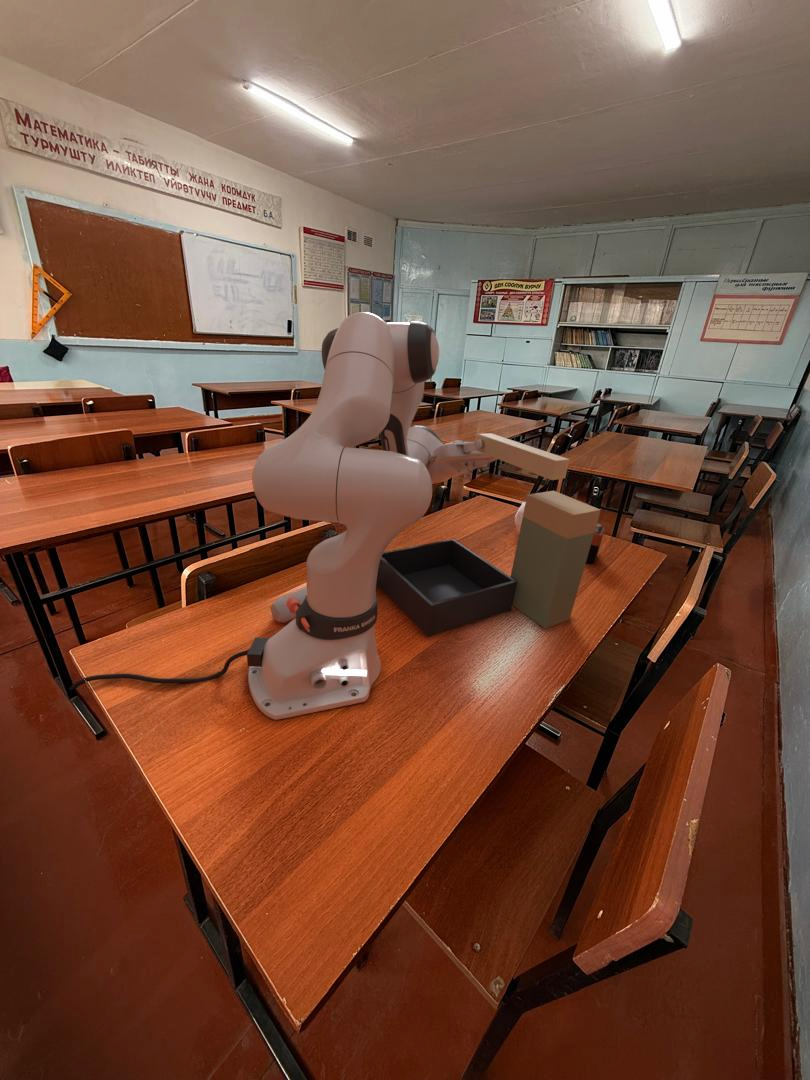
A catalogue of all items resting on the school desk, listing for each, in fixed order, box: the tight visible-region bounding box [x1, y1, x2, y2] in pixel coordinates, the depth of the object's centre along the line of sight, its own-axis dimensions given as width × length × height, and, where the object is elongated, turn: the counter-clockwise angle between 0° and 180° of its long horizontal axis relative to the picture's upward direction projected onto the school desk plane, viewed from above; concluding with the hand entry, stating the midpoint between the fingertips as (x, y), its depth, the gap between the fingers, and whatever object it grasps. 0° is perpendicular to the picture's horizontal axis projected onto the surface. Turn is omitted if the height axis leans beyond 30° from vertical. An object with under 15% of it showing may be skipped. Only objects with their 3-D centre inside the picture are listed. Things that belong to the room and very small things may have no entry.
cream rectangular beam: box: [476, 432, 570, 481], centre depth 96 cm, size 4×24×4 cm, turn 31°
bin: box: [376, 538, 517, 638], centre depth 100 cm, size 23×24×8 cm
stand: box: [510, 490, 601, 630], centre depth 93 cm, size 8×12×26 cm, turn 31°
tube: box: [269, 586, 307, 624], centre depth 94 cm, size 5×5×25 cm
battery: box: [586, 523, 605, 565], centre depth 123 cm, size 4×7×10 cm, turn 150°
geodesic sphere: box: [514, 501, 526, 534], centre depth 130 cm, size 15×14×14 cm
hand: (491, 442), depth 103 cm, fingers closed on cream rectangular beam, 4 cm apart
